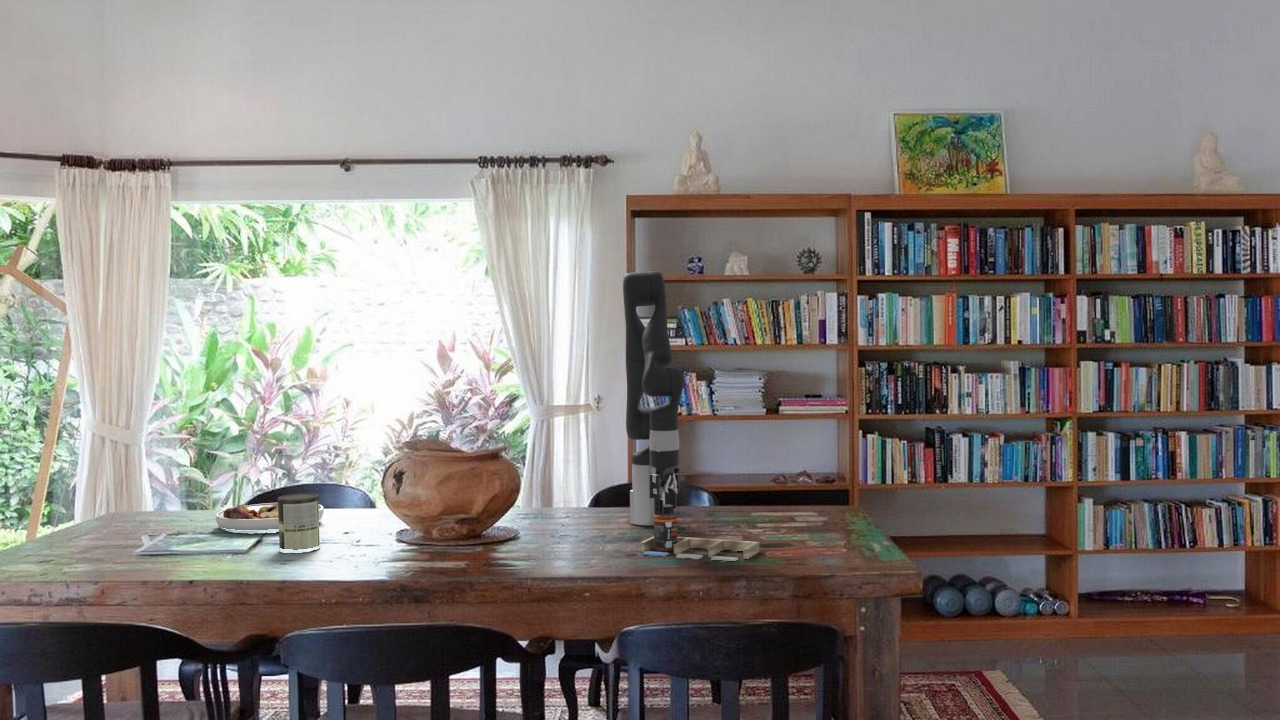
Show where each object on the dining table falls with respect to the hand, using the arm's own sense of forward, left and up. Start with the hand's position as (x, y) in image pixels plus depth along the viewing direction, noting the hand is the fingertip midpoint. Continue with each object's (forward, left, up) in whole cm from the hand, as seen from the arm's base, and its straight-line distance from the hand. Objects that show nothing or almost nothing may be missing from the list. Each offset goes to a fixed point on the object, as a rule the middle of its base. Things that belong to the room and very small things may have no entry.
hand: (665, 511), depth 273 cm
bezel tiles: (+9, -7, -10) cm, 15 cm away
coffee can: (-91, -30, -10) cm, 96 cm away
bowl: (-124, -5, -10) cm, 124 cm away
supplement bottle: (0, 0, -10) cm, 10 cm away
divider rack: (+9, 0, -10) cm, 13 cm away
